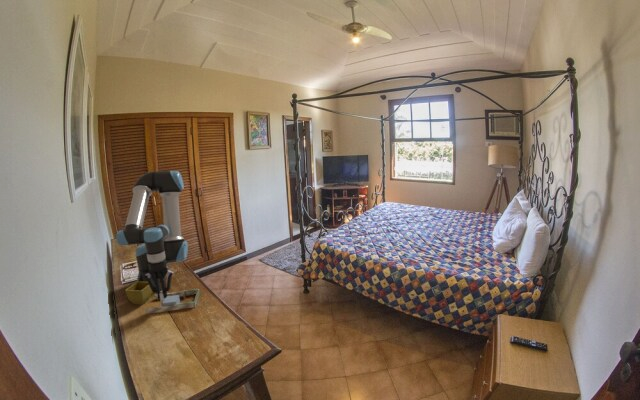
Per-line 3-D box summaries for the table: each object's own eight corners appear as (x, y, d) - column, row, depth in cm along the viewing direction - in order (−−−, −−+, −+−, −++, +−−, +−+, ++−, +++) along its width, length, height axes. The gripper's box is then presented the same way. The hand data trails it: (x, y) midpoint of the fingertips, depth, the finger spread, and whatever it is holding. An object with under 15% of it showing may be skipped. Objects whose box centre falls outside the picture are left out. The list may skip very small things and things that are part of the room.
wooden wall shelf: (146, 313, 137) (145, 308, 136) (155, 299, 149) (154, 294, 149) (195, 307, 142) (194, 302, 141) (199, 293, 154) (199, 288, 153)
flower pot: (155, 297, 151) (152, 281, 149) (143, 307, 143) (141, 290, 141) (139, 296, 152) (137, 281, 150) (127, 306, 144) (124, 290, 142)
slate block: (163, 310, 140) (162, 303, 139) (167, 303, 145) (166, 296, 144) (176, 308, 141) (175, 301, 140) (179, 301, 147) (178, 294, 146)
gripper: (138, 264, 132) (146, 310, 137) (169, 261, 135) (175, 306, 140) (145, 258, 139) (152, 301, 145) (173, 255, 142) (179, 298, 147)
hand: (163, 303), depth 142 cm, fingers closed
